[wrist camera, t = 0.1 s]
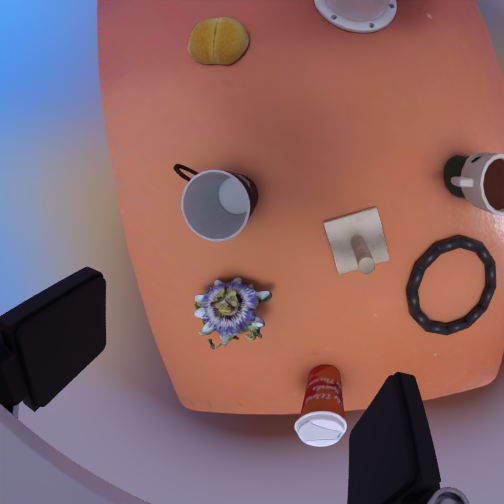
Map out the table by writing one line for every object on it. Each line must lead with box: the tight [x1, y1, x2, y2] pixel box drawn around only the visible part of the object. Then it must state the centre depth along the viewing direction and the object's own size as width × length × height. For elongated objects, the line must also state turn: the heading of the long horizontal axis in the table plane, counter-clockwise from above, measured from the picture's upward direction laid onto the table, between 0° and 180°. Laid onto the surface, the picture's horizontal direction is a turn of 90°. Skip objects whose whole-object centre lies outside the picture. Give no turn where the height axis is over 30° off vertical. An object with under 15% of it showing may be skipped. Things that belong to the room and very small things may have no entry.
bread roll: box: [188, 17, 249, 65], centre depth 37 cm, size 8×9×4 cm
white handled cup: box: [444, 153, 504, 216], centre depth 31 cm, size 11×7×13 cm, turn 97°
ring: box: [407, 235, 496, 335], centre depth 41 cm, size 17×17×2 cm
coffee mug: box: [174, 164, 258, 241], centre depth 41 cm, size 12×9×10 cm
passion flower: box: [194, 277, 272, 349], centre depth 48 cm, size 11×11×12 cm
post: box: [323, 206, 390, 274], centre depth 38 cm, size 8×8×11 cm
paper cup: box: [295, 365, 347, 446], centre depth 45 cm, size 8×8×14 cm
